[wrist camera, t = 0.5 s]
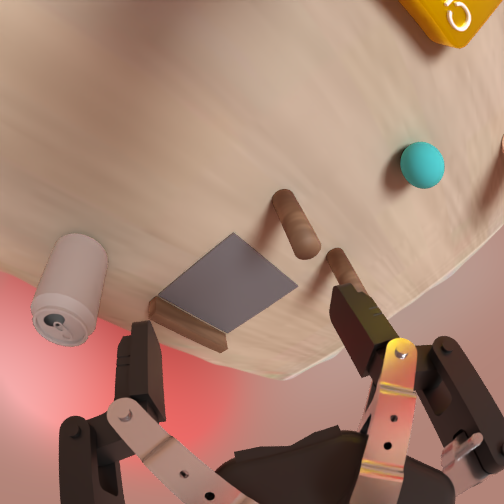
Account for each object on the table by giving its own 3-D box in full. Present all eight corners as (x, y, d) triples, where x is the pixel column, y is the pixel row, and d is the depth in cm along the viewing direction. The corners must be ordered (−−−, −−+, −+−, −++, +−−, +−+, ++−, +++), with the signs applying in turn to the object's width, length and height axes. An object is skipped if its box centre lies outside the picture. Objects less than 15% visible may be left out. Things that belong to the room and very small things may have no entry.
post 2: (338, 244, 42) (365, 292, 35) (346, 254, 43) (373, 301, 37) (322, 255, 43) (347, 305, 36) (331, 265, 44) (356, 313, 37)
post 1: (285, 184, 34) (311, 232, 28) (298, 199, 36) (325, 248, 29) (267, 199, 35) (289, 249, 28) (280, 212, 37) (304, 263, 30)
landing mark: (233, 232, 37) (233, 233, 37) (297, 285, 45) (298, 286, 45) (158, 294, 42) (158, 295, 42) (227, 332, 50) (227, 333, 50)
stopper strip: (156, 295, 42) (155, 312, 40) (225, 333, 50) (227, 348, 48) (149, 301, 42) (148, 318, 40) (218, 338, 50) (220, 353, 48)
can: (86, 219, 32) (58, 297, 23) (120, 262, 37) (108, 342, 28) (44, 243, 33) (13, 318, 24) (78, 282, 38) (61, 357, 29)
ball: (418, 126, 32) (446, 145, 28) (431, 158, 35) (457, 179, 31) (385, 151, 34) (411, 173, 29) (401, 182, 37) (425, 205, 33)
